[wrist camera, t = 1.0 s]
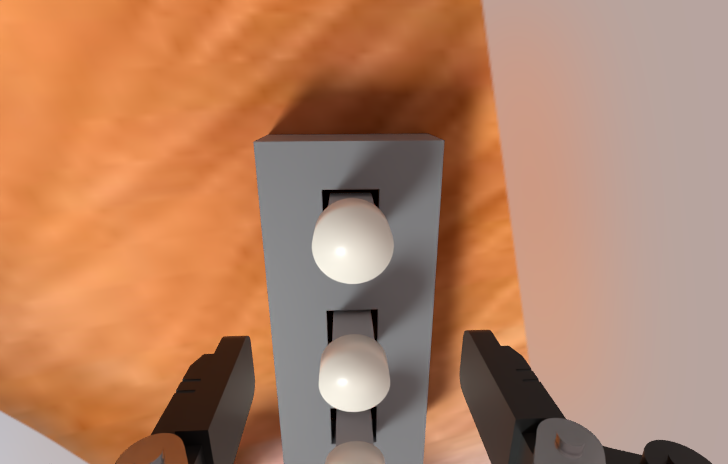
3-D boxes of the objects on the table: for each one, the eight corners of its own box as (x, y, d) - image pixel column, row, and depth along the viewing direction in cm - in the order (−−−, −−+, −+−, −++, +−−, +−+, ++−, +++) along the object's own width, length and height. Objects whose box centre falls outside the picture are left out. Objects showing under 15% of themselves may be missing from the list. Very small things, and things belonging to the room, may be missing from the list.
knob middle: (322, 299, 29) (317, 354, 23) (380, 297, 29) (390, 352, 23) (324, 348, 31) (320, 413, 24) (380, 346, 31) (389, 410, 24)
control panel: (268, 134, 29) (253, 141, 24) (428, 133, 29) (444, 140, 24) (292, 426, 38) (284, 473, 33) (413, 421, 38) (423, 467, 34)
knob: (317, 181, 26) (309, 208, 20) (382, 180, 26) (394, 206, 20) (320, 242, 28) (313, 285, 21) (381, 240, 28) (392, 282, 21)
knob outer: (326, 394, 32) (322, 467, 26) (379, 392, 32) (388, 464, 26) (328, 435, 33) (325, 513, 27) (378, 433, 34) (387, 510, 27)
